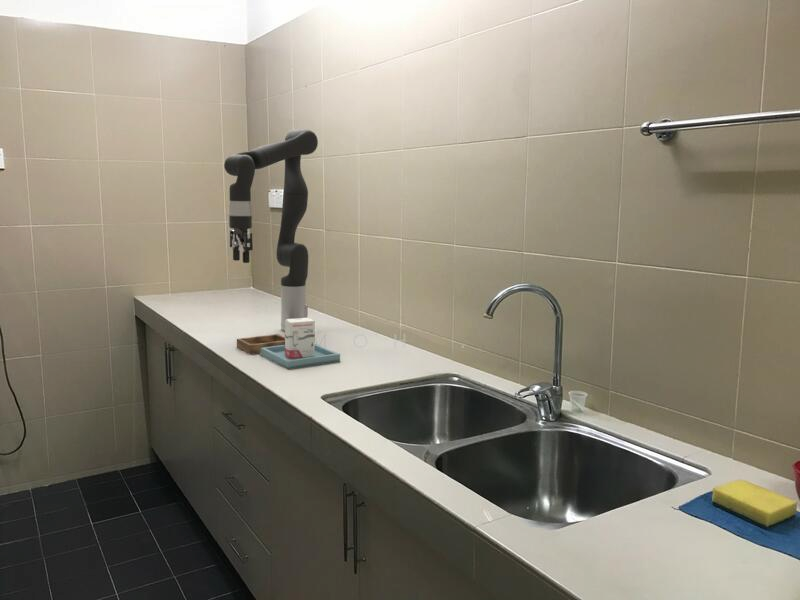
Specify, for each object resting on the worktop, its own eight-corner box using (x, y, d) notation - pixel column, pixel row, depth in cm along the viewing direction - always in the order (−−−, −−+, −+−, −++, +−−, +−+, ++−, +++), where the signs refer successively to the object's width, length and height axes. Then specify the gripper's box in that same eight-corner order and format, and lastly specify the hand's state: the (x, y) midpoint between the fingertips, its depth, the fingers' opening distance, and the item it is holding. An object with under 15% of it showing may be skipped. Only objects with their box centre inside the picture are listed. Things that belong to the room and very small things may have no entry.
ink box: (289, 359, 207) (289, 322, 205) (284, 355, 211) (284, 319, 209) (315, 356, 211) (315, 320, 209) (309, 352, 215) (309, 317, 213)
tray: (309, 348, 224) (309, 341, 224) (340, 361, 208) (340, 354, 208) (260, 355, 214) (260, 347, 213) (288, 369, 198) (288, 361, 197)
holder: (277, 342, 232) (277, 334, 231) (291, 348, 223) (291, 340, 222) (236, 347, 223) (236, 338, 222) (250, 354, 214) (249, 345, 214)
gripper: (259, 215, 222) (259, 263, 225) (242, 213, 234) (243, 259, 236) (238, 215, 218) (238, 264, 220) (222, 213, 229) (223, 260, 232)
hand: (241, 261), depth 228 cm, fingers open, 8 cm apart
